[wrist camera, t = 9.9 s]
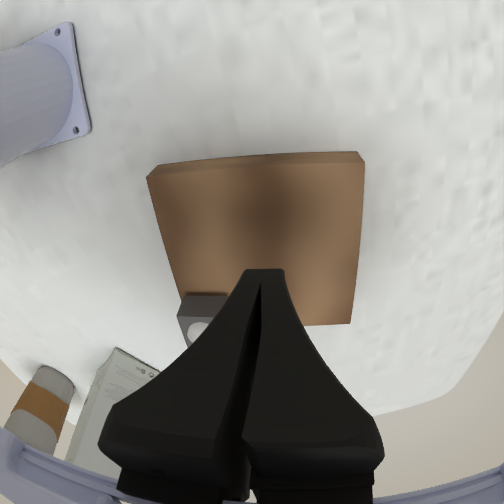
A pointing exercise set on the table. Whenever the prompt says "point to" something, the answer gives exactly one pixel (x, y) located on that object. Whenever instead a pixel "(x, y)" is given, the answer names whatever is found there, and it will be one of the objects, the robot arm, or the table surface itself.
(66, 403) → the coffee cup
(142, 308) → the table surface
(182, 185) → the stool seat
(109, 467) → the skincare box
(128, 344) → the table surface
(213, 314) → the gray rectangular bar
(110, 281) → the table surface
